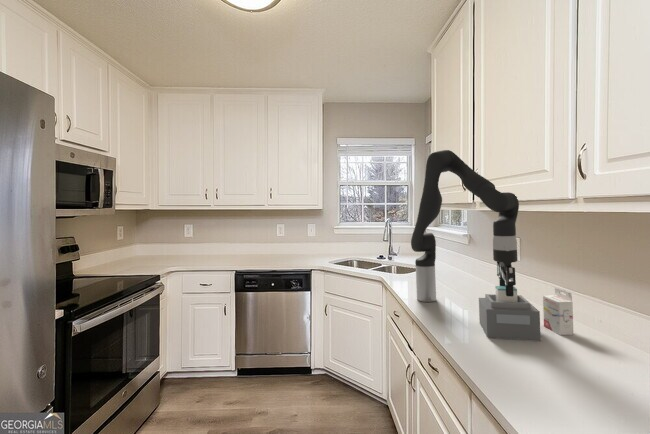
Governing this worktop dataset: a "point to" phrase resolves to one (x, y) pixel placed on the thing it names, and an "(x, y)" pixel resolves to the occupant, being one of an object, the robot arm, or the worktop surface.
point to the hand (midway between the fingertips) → (506, 292)
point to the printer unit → (509, 319)
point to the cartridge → (502, 295)
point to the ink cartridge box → (558, 312)
